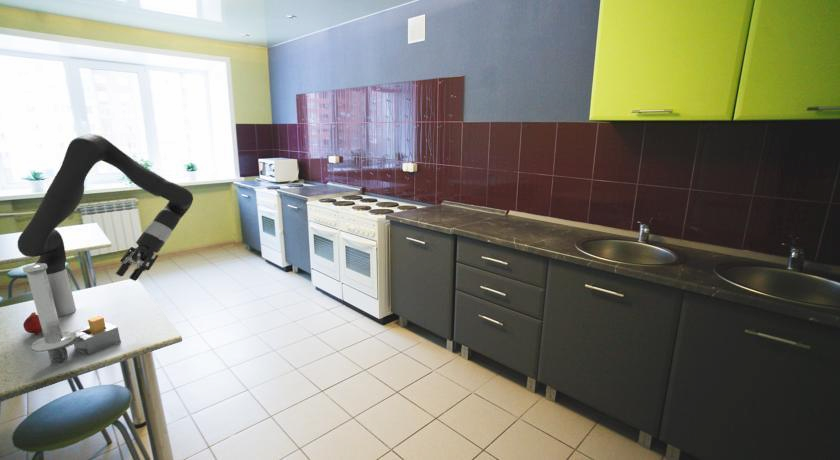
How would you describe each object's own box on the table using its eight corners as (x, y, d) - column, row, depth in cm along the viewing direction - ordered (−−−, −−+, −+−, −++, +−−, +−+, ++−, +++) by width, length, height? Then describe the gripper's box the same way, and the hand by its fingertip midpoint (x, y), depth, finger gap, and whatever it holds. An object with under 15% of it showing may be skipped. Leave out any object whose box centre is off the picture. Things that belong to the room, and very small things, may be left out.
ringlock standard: (31, 364, 119) (3, 268, 111) (106, 335, 135) (86, 250, 128) (46, 373, 114) (18, 274, 106) (121, 342, 131) (102, 254, 123)
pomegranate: (35, 339, 133) (29, 317, 131) (21, 337, 134) (15, 316, 132) (53, 330, 138) (48, 309, 136) (41, 329, 140) (35, 308, 138)
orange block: (93, 344, 129) (87, 319, 127) (104, 340, 132) (98, 315, 130) (98, 346, 128) (92, 321, 126) (109, 342, 131) (103, 317, 128)
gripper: (134, 229, 141) (104, 269, 134) (157, 233, 135) (126, 276, 128) (152, 239, 147) (124, 278, 140) (175, 244, 141) (146, 285, 134)
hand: (125, 277), depth 134 cm, fingers open, 8 cm apart
